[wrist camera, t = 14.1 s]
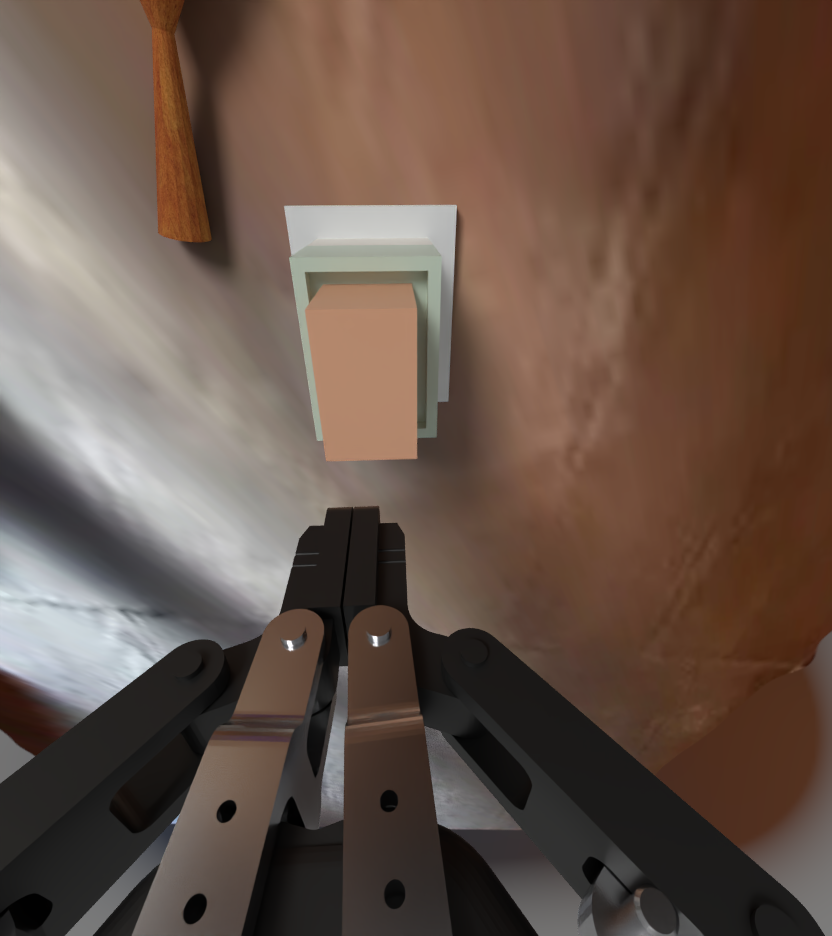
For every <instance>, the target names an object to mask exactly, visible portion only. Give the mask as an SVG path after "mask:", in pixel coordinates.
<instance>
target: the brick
mask: <svg viewBox="0 0 832 936" xmlns="http://www.w3.org/2000/svg"><path fill="white" fill-rule="evenodd" d="M305 315H306V322H307V329H308V336H309V343H310V350H311V357H312V364H313V371H314V378H315V385H316V392H317V400H318V407H319V414H320V421H321V428H322V435H323V442H324V449H325V456H326V461H354V460H391V459H417V306H416V301H415V296H414V292H413V287H412V283H391V284H323V285H322V286H321V288H320V289H319V291H318V292H317V293H316V295H315V296H314V298H313V299H312V300H311V302H310V303H309V305H308V306H307V307H306V309H305Z"/></svg>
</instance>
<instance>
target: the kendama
mask: <svg viewBox="0 0 832 936" xmlns="http://www.w3.org/2000/svg"><path fill="white" fill-rule="evenodd" d="M140 2H141V4H142V6H143V8H144V11H145V13H146V15H147V18H148V20H149V22H150V24H151V27H152V45H153V77H154V109H155V141H156V173H157V205H158V233H159V234H160V235H162V236H164V237H167V238H170V239H175V240H179V241H187V242H208V241H210V240H212V238H211V233H210V227H209V222H208V216H207V211H206V205H205V200H204V194H203V189H202V183H201V178H200V172H199V167H198V162H197V156H196V151H195V145H194V140H193V134H192V129H191V123H190V118H189V112H188V107H187V101H186V96H185V90H184V85H183V79H182V74H181V68H180V63H179V57H178V52H177V46H176V41H175V35H174V33H175V30H176V27H177V24H178V20H179V17H180V14H181V10H182V7H183V4H184V0H140Z"/></svg>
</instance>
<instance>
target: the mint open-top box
mask: <svg viewBox="0 0 832 936" xmlns="http://www.w3.org/2000/svg"><path fill="white" fill-rule="evenodd" d="M284 208H285V214H286V221H287V228H288V235H289V241H290V248H291V255H292V256H291V257H289V260H290V266H291V273H292V279H293V286H294V293H295V299H296V306H297V312H298V319H299V325H300V332H301V339H302V345H303V352H304V358H305V365H306V371H307V378H308V385H309V391H310V398H311V404H312V411H313V417H314V424H315V431H316V437H317V441H321V440H323V435H322V428H321V421H320V414H319V407H318V400H317V392H316V385H315V378H314V371H313V364H312V357H311V350H310V343H309V336H308V329H307V322H306V315H305V309H306V307H307V306H308V305H309V303H310V302H311V300H312V299H313V298H314V296H315V295H316V293H317V292H318V291H319V289H320V288H321V286H322V285H323V284H391V283H412V287H413V292H414V296H415V301H416V306H417V438H436V437H437V407H438V402H448V398H449V375H450V352H451V328H452V305H453V282H454V259H455V236H456V213H457V205H311V206H284Z"/></svg>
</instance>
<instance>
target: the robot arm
mask: <svg viewBox="0 0 832 936" xmlns="http://www.w3.org/2000/svg"><path fill="white" fill-rule="evenodd" d="M339 666H348V719H347V723H346V726H345V743H344V820H341V821H339V822H336V823H334V824H331V825H329V826H326V827H323V828H321V829H319V822H320V813H321V786H322V778H323V772H324V766H325V761H326V755H327V749H328V744H329V738H330V733H331V727H332V721H333V716H334V710H335V705H336V699H337V691H336V688H337V681H338V672H339ZM424 726H427V727H430V728H433V729H436V730H439V731H441V733H442V735H443V737H444V738H445V739H446V741H447V742H448V743H449V744H450V745H451V746H452V748H453V749H454V750H455V751H456V752H457V753H458V755H459V756H460V757H461V758H462V759H463V760H464V762H465V763H466V764H467V765H468V766H469V767H470V769H471V770H472V771H473V772H474V773H475V774H476V776H477V777H478V778H479V779H480V780H481V782H482V783H483V784H484V785H485V786H486V787H487V789H488V790H489V791H490V792H491V793H492V794H493V796H494V797H495V798H496V799H497V800H498V801H499V803H500V804H501V805H502V806H503V807H504V808H505V810H506V811H507V812H508V813H509V814H510V815H511V817H512V818H513V819H514V820H515V821H516V822H517V824H518V825H519V826H520V827H521V828H522V830H523V831H524V832H525V833H526V834H527V835H528V837H529V838H530V839H531V840H532V841H533V842H534V843H535V845H536V846H537V847H538V848H539V849H540V851H541V852H542V853H543V854H544V855H545V856H546V858H547V859H548V860H549V861H550V862H551V863H552V865H553V866H554V867H555V868H556V869H557V870H558V872H559V873H560V874H561V875H562V876H563V877H564V879H565V880H566V881H567V882H568V883H569V885H570V886H571V887H572V888H573V889H574V890H575V892H576V893H577V894H578V895H579V896H580V897H581V899H582V900H581V902H580V906H579V911H578V932H579V936H825V935H824V933H823V932H822V930H821V929H820V927H819V926H818V924H817V923H816V921H815V920H814V919H813V917H812V916H811V915H810V913H809V912H808V911H807V909H806V908H805V907H804V906H803V905H802V904H801V903H800V902H799V901H798V900H797V899H796V898H795V897H794V896H793V895H792V894H791V893H790V892H789V891H788V890H787V889H785V888H784V887H783V886H782V885H781V884H780V883H778V882H777V881H776V880H775V879H774V878H773V877H772V876H770V875H769V874H768V873H767V872H766V871H764V870H763V869H762V868H761V867H760V866H759V865H758V864H756V863H755V862H754V861H753V860H752V859H751V858H750V857H748V856H747V855H746V854H745V853H744V852H743V851H741V850H740V849H739V848H738V847H737V846H736V845H734V844H733V843H732V842H731V841H730V840H729V839H728V838H726V837H725V836H724V835H723V834H722V833H721V832H719V831H718V830H717V829H716V828H715V827H713V826H712V825H711V824H710V823H709V822H708V821H707V820H705V819H704V818H703V817H702V816H701V815H700V814H699V813H697V812H696V811H695V810H694V809H693V808H691V807H690V806H689V805H688V804H687V803H686V802H684V801H683V800H682V799H681V798H680V797H679V796H677V794H675V793H674V792H673V791H672V790H671V789H669V788H668V787H667V786H666V785H665V784H664V783H663V782H661V781H660V780H659V779H658V778H657V777H656V776H655V775H653V774H652V773H651V772H650V771H649V770H648V769H646V768H645V767H644V766H643V765H642V764H641V763H639V762H638V761H637V760H636V759H635V758H634V757H632V756H631V755H630V754H629V753H628V752H627V751H626V750H624V749H623V748H622V747H621V746H620V745H619V744H617V743H616V742H615V741H614V740H613V739H612V738H610V737H609V736H608V735H607V734H606V733H605V732H604V731H602V730H601V729H600V728H599V727H598V726H597V725H595V724H594V723H593V722H592V721H591V720H590V719H588V718H587V717H586V716H585V715H584V714H583V713H582V712H580V711H579V710H578V709H577V708H576V707H575V706H573V705H572V704H571V703H570V702H569V701H568V700H566V699H565V698H564V697H563V696H562V695H561V694H560V693H558V692H557V691H556V690H555V689H554V688H553V687H551V686H550V685H549V684H548V683H547V682H546V681H544V680H543V679H542V678H541V677H540V676H539V675H537V674H536V673H535V672H534V671H533V670H532V669H531V668H529V667H528V666H527V665H526V664H525V663H524V662H522V661H521V660H520V659H519V658H518V657H517V656H515V655H514V654H513V653H512V652H511V651H510V650H509V649H507V648H506V647H505V646H504V645H503V644H502V643H500V642H499V641H498V640H497V639H496V638H495V637H493V636H492V635H491V634H489V633H487V632H485V631H483V630H480V629H475V628H466V629H461V630H458V631H456V632H454V633H453V634H451V635H450V636H449V637H447V636H443V635H440V634H436V633H432V632H429V631H427V630H425V629H423V628H422V627H420V626H419V625H418V624H417V623H416V622H415V621H414V620H413V619H412V617H411V615H410V614H409V610H408V605H407V582H406V559H405V536H404V533H403V532H402V530H401V529H400V527H399V525H398V524H397V523H380V511H379V506H368V507H354V509H353V507H342V508H328V509H327V513H326V518H325V523H324V526H309V528H308V529H307V530H306V531H305V532H304V534H303V535H302V536H301V537H300V538H299V542H298V546H297V550H296V556H295V557H294V561H293V568H292V569H291V573H290V577H289V581H288V584H287V588H286V592H285V596H284V600H283V604H282V608H281V611H280V614H279V616H277V617H276V618H274V619H273V620H272V621H271V622H270V623H269V624H268V626H267V627H266V629H265V631H264V633H263V634H262V635H260V636H259V637H257V638H255V639H253V640H251V641H248V642H245V643H242V644H239V645H236V646H233V647H230V648H227V649H224V650H222V648H221V647H220V646H219V644H217V643H216V642H214V641H211V640H194V641H191V642H188V643H185V644H183V645H181V646H179V647H177V648H176V649H174V650H173V651H171V652H170V653H169V654H167V655H166V656H165V657H164V658H162V659H161V660H160V661H158V662H157V663H156V664H155V665H153V666H152V667H151V668H149V669H148V670H147V671H145V672H144V673H143V674H142V675H140V676H139V677H138V678H136V679H135V680H134V681H133V682H131V683H130V684H129V685H127V686H126V687H125V688H123V689H122V690H121V691H120V692H118V693H117V694H116V695H114V696H113V697H112V698H110V699H109V700H108V701H107V702H105V703H104V704H103V705H101V706H100V707H99V708H98V709H96V710H95V711H94V712H92V713H91V714H90V715H88V716H87V717H86V718H85V719H83V720H82V721H81V722H79V723H78V724H77V725H76V726H74V727H73V728H72V729H70V730H69V731H68V732H66V733H65V734H64V735H63V736H61V737H60V738H59V739H57V740H56V741H55V742H53V743H52V744H51V745H50V746H48V747H47V748H46V749H44V750H43V751H42V752H41V753H39V754H38V755H37V756H35V757H34V758H33V759H31V760H30V761H29V762H28V763H26V764H25V765H24V766H22V767H21V768H20V769H19V770H17V771H16V772H15V773H13V774H12V775H11V776H9V777H8V778H7V779H6V780H4V781H3V782H2V783H1V784H0V936H65V935H66V934H67V933H68V931H69V930H70V929H71V928H72V927H73V926H74V925H75V924H76V923H77V922H78V921H79V920H80V919H81V918H82V917H83V915H84V914H85V913H86V912H87V911H88V910H89V909H90V908H91V907H92V906H93V905H94V904H95V903H96V902H97V901H98V900H99V899H100V898H101V897H102V896H103V895H104V893H105V892H106V891H107V890H108V889H109V888H110V887H111V886H112V885H113V884H114V883H115V882H116V881H117V880H118V879H119V877H121V875H122V874H123V873H124V872H125V871H126V870H127V869H128V868H129V867H130V866H131V865H132V864H133V863H134V862H135V861H136V860H137V859H138V857H139V856H140V855H141V854H142V853H143V852H144V851H145V850H146V849H147V848H148V847H149V846H150V845H151V844H152V843H153V842H154V841H155V840H156V838H157V837H158V836H159V835H160V834H161V833H162V832H163V831H164V830H165V829H166V828H167V827H168V826H169V825H170V824H171V823H172V822H173V820H174V819H175V818H176V817H177V816H178V815H179V814H180V815H179V818H178V820H177V823H176V825H175V828H174V830H173V833H172V835H171V838H170V840H169V843H168V846H167V848H166V851H165V853H164V855H163V858H162V861H161V863H160V864H159V865H158V866H156V867H155V868H154V869H153V870H152V871H151V872H150V873H149V874H148V875H147V876H146V877H145V878H144V879H142V880H141V882H139V884H138V885H137V886H136V887H135V888H134V889H133V890H132V891H131V892H130V893H129V894H128V896H127V897H126V898H125V899H124V900H123V901H122V903H121V904H120V905H119V906H118V907H117V908H116V909H115V911H114V912H113V913H112V914H111V915H110V916H109V917H108V919H107V920H106V921H105V922H104V923H103V925H102V926H101V927H100V928H99V929H98V930H97V931H96V933H95V934H94V935H93V936H538V934H537V933H536V931H535V930H534V929H533V927H532V926H531V924H530V923H529V922H528V920H527V919H526V917H525V916H524V915H523V914H522V912H521V910H520V909H519V908H518V906H517V905H516V903H515V902H514V900H513V899H512V898H511V896H510V895H509V894H508V892H507V891H506V889H505V888H504V886H503V885H502V884H501V882H500V881H499V879H498V878H497V877H496V875H495V874H494V872H493V871H492V869H491V868H490V867H489V865H488V864H487V863H486V862H485V860H484V859H483V858H482V857H481V855H480V854H479V853H478V852H477V851H476V850H475V849H474V848H473V847H472V846H471V845H470V844H469V843H468V842H466V841H465V840H464V839H463V838H462V837H460V836H459V835H457V834H456V833H454V832H453V831H451V830H450V829H448V828H446V827H444V826H441V825H439V824H437V817H436V810H435V803H434V795H433V788H432V780H431V773H430V766H429V758H428V751H427V744H426V736H425V729H424Z"/></svg>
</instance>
